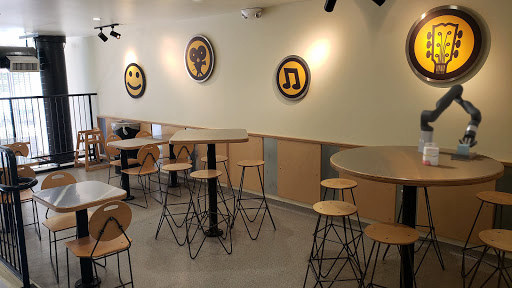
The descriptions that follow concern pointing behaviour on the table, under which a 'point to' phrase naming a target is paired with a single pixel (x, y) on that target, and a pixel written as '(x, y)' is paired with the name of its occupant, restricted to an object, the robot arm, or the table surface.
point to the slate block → (463, 149)
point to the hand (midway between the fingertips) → (465, 151)
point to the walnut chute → (462, 156)
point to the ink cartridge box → (430, 154)
